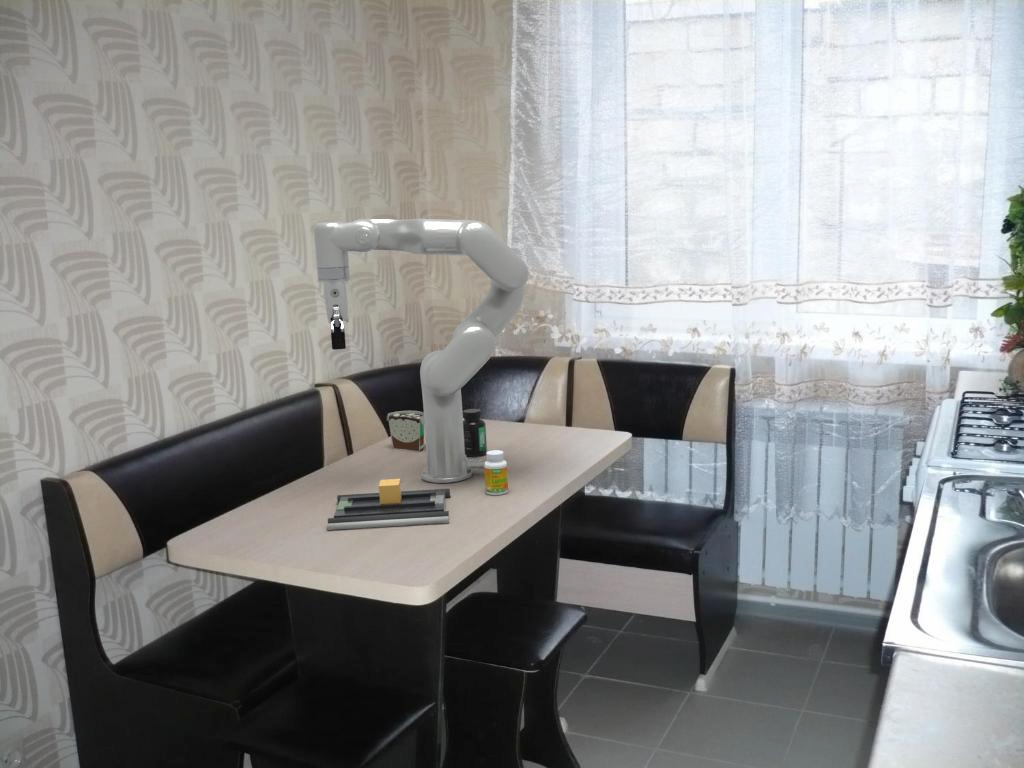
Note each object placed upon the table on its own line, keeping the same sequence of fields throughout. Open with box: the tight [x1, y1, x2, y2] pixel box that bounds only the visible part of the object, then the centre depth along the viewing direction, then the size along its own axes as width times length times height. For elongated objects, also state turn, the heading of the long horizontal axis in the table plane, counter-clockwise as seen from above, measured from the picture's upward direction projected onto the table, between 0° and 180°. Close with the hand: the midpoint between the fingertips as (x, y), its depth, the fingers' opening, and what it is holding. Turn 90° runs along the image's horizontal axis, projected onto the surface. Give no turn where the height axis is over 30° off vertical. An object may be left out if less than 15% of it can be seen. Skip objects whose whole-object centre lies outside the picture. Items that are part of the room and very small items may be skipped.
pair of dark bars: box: [326, 487, 451, 531], centre depth 237 cm, size 26×20×2 cm
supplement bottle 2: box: [483, 449, 509, 496], centre depth 247 cm, size 5×5×10 cm
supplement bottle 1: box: [462, 408, 488, 458], centre depth 282 cm, size 7×7×12 cm
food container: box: [386, 410, 425, 453], centre depth 293 cm, size 12×6×10 cm, turn 58°
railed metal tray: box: [333, 491, 447, 518], centre depth 237 cm, size 24×14×3 cm, turn 92°
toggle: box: [378, 478, 402, 504], centre depth 237 cm, size 4×5×4 cm
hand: (338, 346), depth 253 cm, fingers open, 9 cm apart
